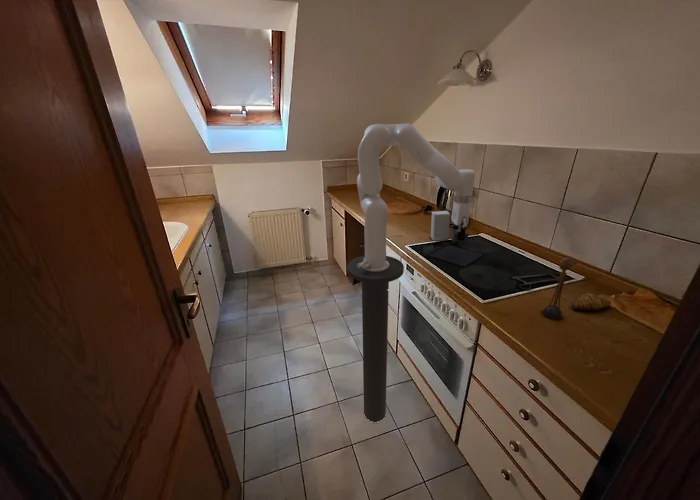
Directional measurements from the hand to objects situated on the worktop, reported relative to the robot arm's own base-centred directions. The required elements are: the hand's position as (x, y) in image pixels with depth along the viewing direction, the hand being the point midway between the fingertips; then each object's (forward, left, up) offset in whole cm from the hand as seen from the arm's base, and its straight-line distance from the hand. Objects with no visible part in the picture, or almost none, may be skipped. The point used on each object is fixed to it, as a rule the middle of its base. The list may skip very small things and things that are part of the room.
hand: (458, 236), depth 136 cm
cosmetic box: (+14, +18, -9) cm, 25 cm away
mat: (0, 0, -9) cm, 9 cm away
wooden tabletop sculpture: (-22, -46, -9) cm, 52 cm away
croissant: (-9, -53, -9) cm, 55 cm away
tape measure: (0, 0, -1) cm, 1 cm away
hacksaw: (0, -37, -9) cm, 38 cm away
